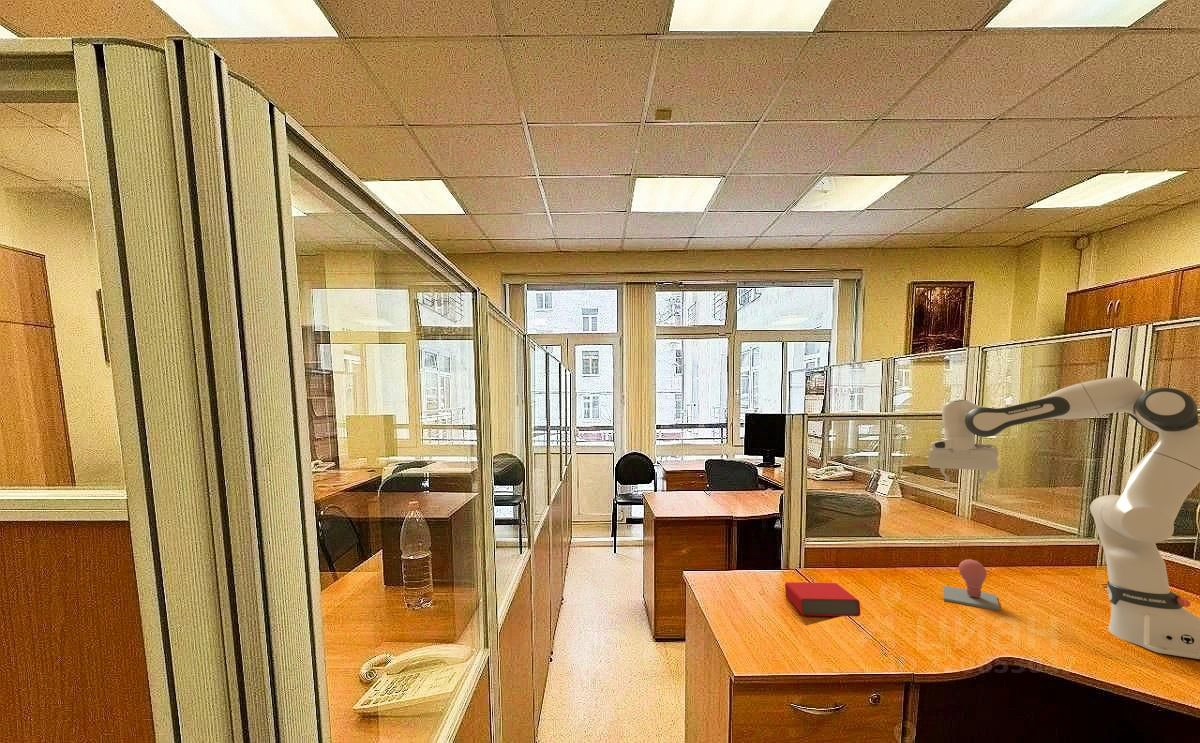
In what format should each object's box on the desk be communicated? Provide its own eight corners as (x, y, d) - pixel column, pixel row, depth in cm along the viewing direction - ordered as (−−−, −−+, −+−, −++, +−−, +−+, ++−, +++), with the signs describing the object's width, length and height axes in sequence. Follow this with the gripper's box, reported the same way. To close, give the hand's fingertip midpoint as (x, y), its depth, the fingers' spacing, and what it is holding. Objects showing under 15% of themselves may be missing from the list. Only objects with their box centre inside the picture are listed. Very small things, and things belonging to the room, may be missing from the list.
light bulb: (995, 601, 142) (991, 563, 144) (973, 601, 143) (969, 563, 144) (977, 593, 149) (973, 556, 151) (956, 593, 150) (952, 556, 151)
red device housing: (839, 598, 149) (838, 583, 150) (860, 616, 135) (859, 599, 136) (785, 597, 151) (784, 582, 151) (801, 615, 136) (800, 598, 137)
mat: (995, 597, 148) (995, 594, 148) (1000, 611, 137) (1000, 608, 137) (943, 587, 156) (943, 585, 157) (943, 600, 146) (943, 598, 146)
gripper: (996, 444, 159) (1000, 482, 157) (926, 442, 171) (929, 478, 170) (998, 444, 154) (1002, 485, 152) (925, 443, 166) (929, 480, 165)
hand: (963, 481), depth 161 cm, fingers open, 8 cm apart
